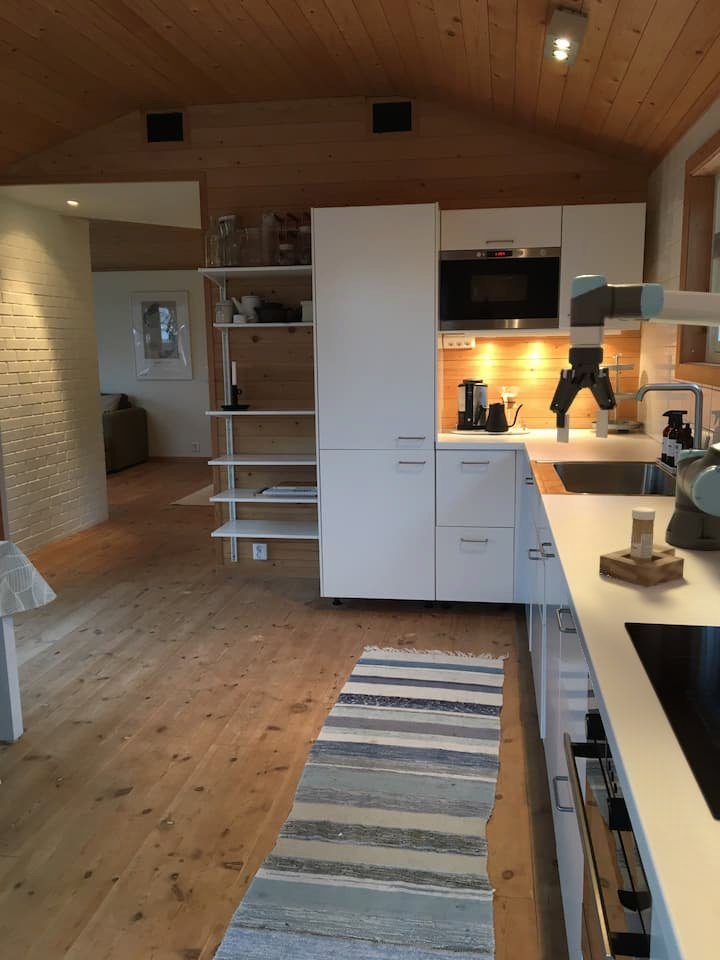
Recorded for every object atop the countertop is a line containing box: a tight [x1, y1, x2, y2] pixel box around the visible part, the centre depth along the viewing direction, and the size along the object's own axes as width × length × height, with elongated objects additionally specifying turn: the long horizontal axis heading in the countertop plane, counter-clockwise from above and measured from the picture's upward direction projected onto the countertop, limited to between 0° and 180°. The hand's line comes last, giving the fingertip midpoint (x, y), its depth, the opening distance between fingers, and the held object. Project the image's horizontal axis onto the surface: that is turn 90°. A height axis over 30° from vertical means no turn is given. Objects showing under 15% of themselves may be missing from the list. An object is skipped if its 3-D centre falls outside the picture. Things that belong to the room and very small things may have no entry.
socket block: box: [598, 547, 685, 588], centre depth 162 cm, size 12×12×4 cm
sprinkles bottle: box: [630, 506, 656, 563], centre depth 161 cm, size 5×5×13 cm
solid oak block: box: [652, 542, 676, 557], centre depth 170 cm, size 6×6×4 cm
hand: (582, 440), depth 176 cm, fingers open, 13 cm apart
